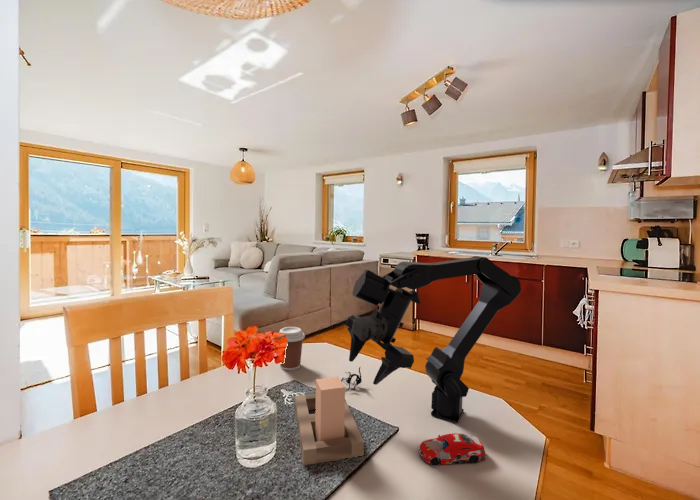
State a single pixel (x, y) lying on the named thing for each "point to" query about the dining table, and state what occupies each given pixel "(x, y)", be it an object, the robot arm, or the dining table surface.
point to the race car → (452, 449)
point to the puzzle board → (328, 448)
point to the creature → (358, 380)
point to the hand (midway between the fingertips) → (362, 372)
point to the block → (329, 409)
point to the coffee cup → (293, 347)
